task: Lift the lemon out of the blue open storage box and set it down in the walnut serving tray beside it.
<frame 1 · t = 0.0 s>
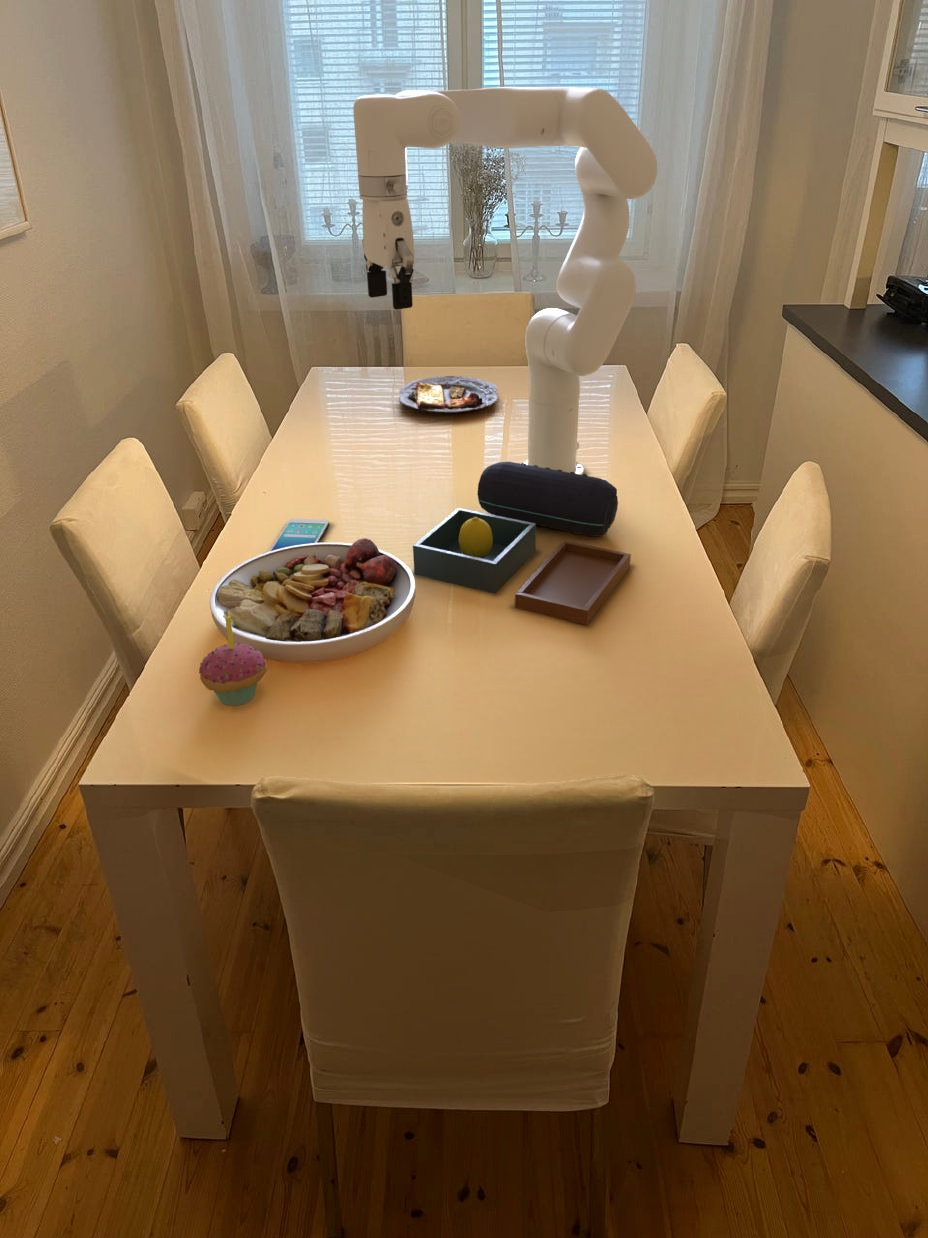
hand: (390, 301, 151), 37 cm above the table, tool pointing down, fingers open, 9 cm apart
tray: (574, 586, 146), on the table
cupcake: (238, 697, 123), on the table
blue open storage box: (476, 563, 153), on the table
lemon: (476, 562, 153), resting on blue open storage box
portable speaker: (547, 524, 165), on the table
smartphone: (299, 543, 161), on the table
bowl: (317, 618, 140), on the table
food plate: (448, 402, 222), on the table
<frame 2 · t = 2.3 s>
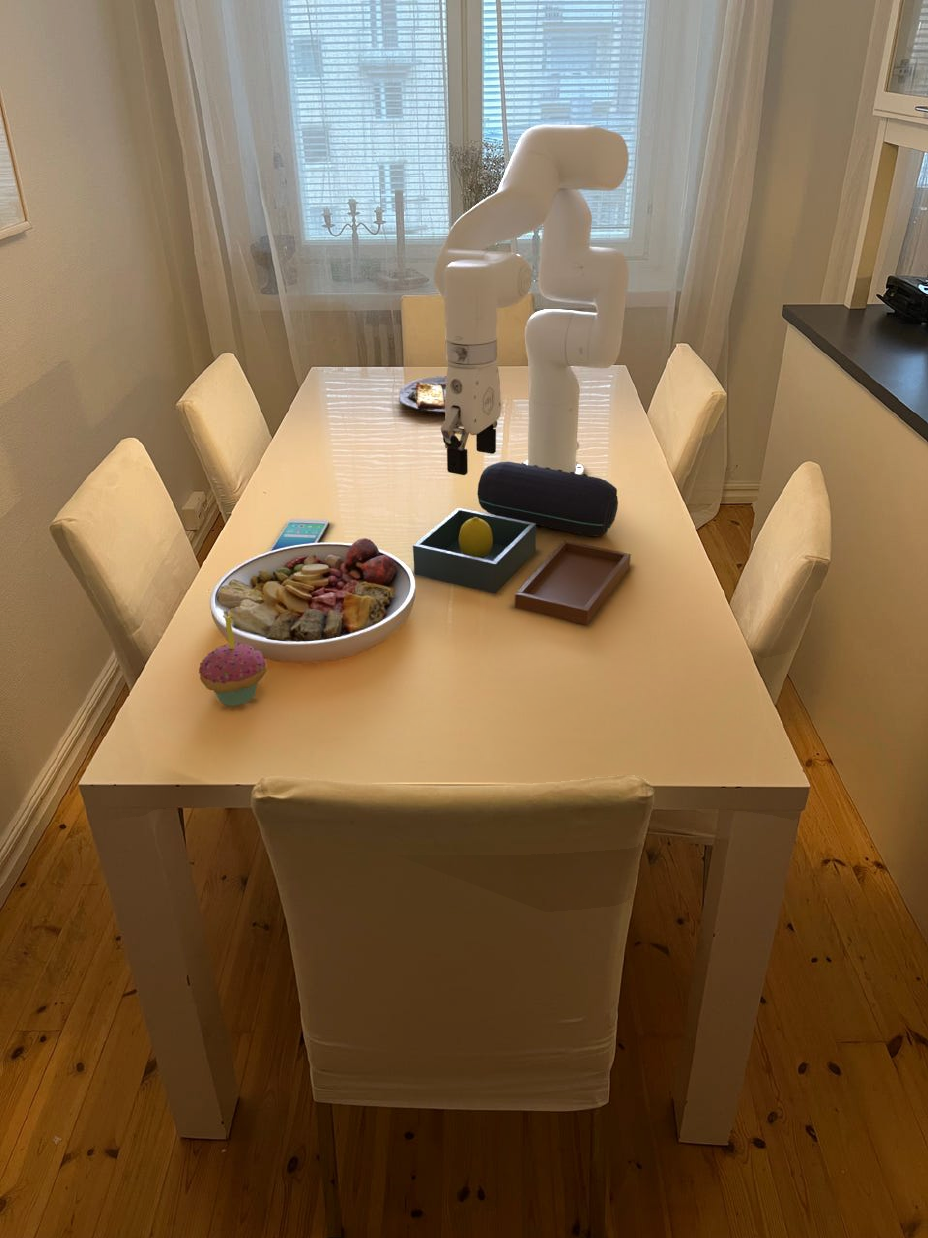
hand: (472, 462, 144), 18 cm above the table, tool pointing down, fingers open, 9 cm apart
nothing on the table moved.
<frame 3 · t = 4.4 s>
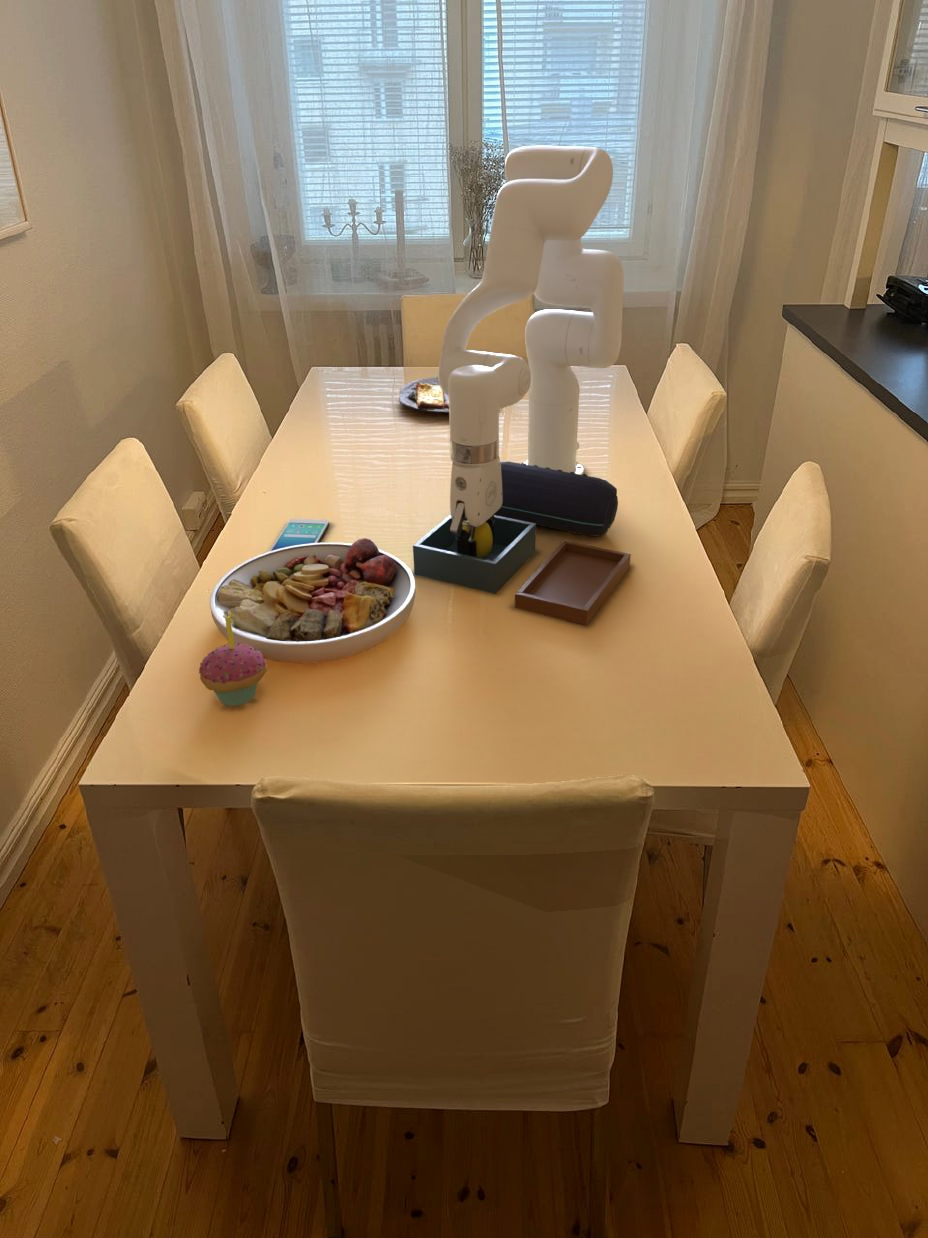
hand: (475, 552, 152), 2 cm above the table, tool pointing down, fingers closed on lemon, 5 cm apart
lemon: (476, 562, 153), resting on blue open storage box, touching gripper
everything else where it was.
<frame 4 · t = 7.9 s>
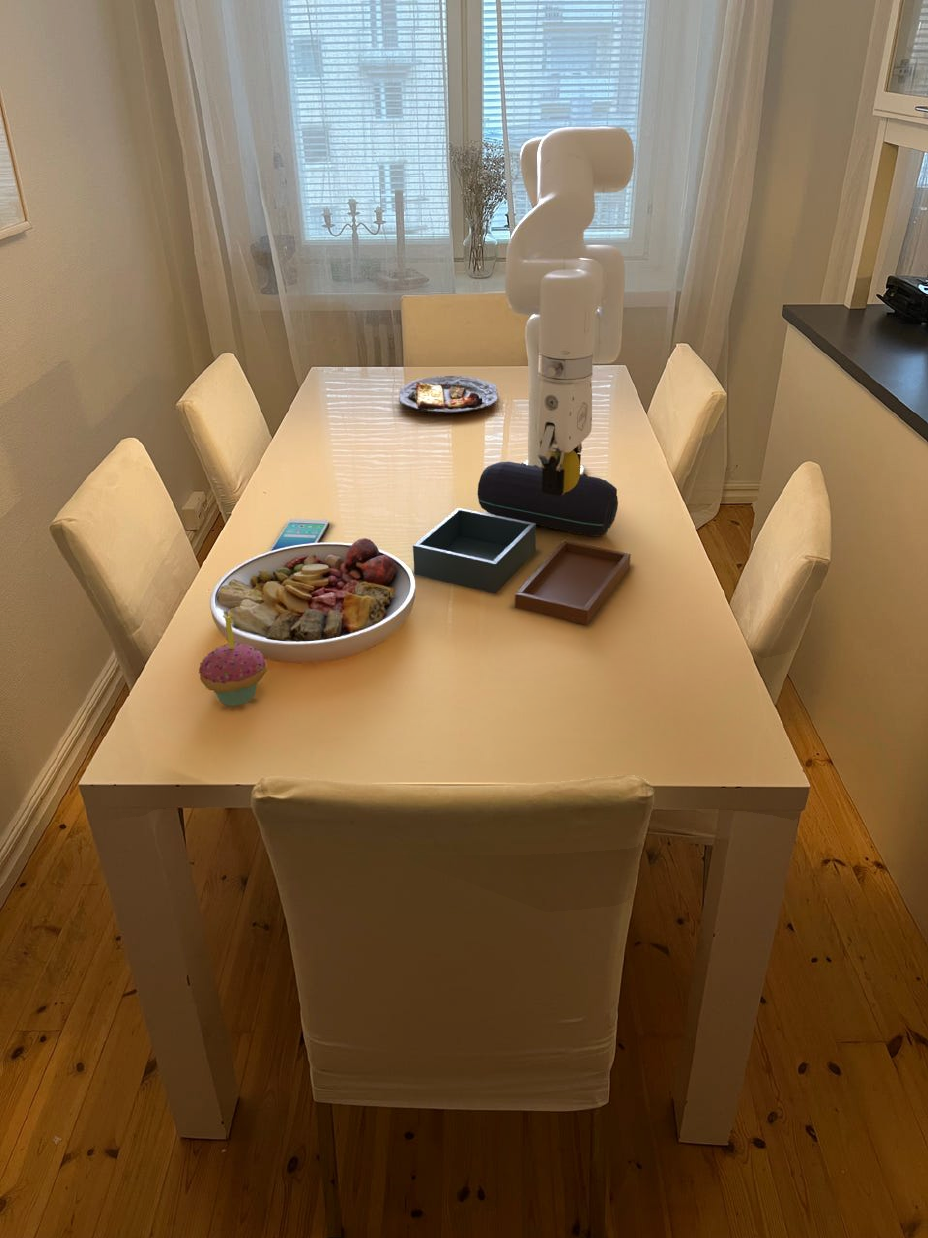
hand: (561, 484, 138), 17 cm above the table, tool pointing down, fingers closed on lemon, 5 cm apart
lemon: (560, 496, 139), point 15 cm above the table, touching gripper
everything else where it was.
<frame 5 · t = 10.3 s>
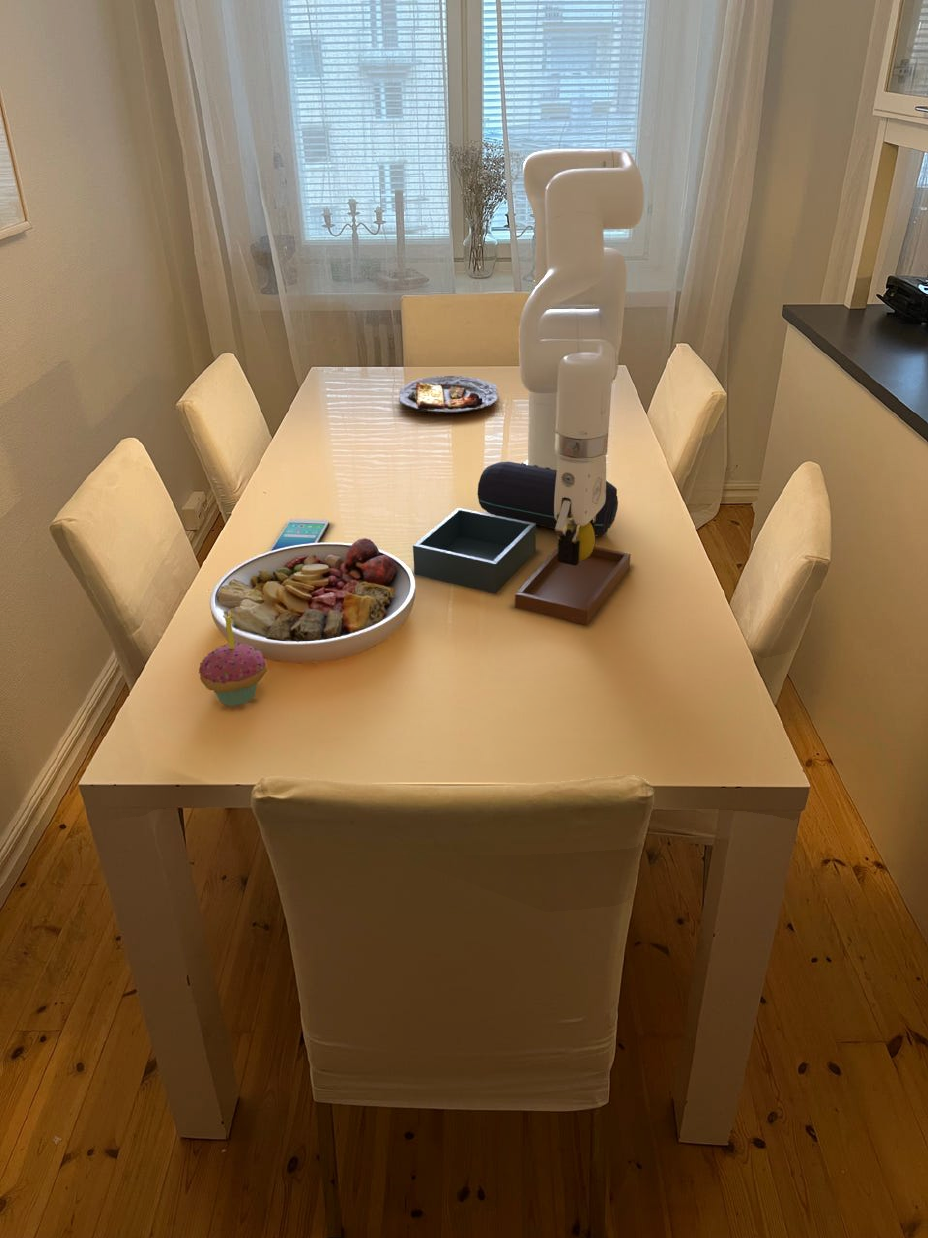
hand: (575, 553, 143), 6 cm above the table, tool pointing down, fingers closed on lemon, 5 cm apart
lemon: (575, 564, 144), point 4 cm above the table, touching gripper
everything else where it was.
when the fingers open (3 cm above the table, at t = 11.6 s): lemon stays where it is, resting on tray.
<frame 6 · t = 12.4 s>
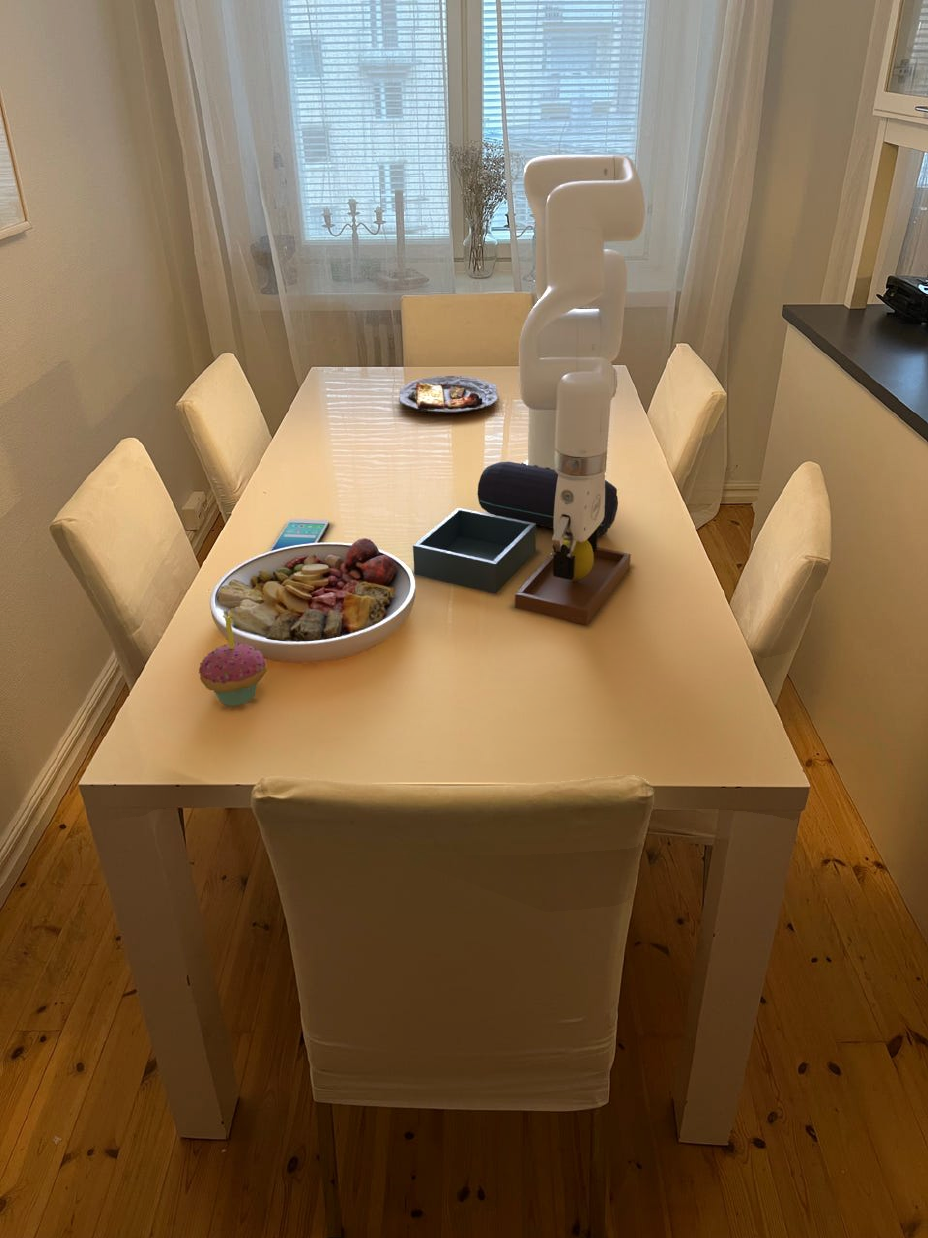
hand: (575, 563, 144), 4 cm above the table, tool pointing down, fingers open, 9 cm apart
lemon: (574, 582, 146), point 1 cm above the table, touching tray
everything else where it was.
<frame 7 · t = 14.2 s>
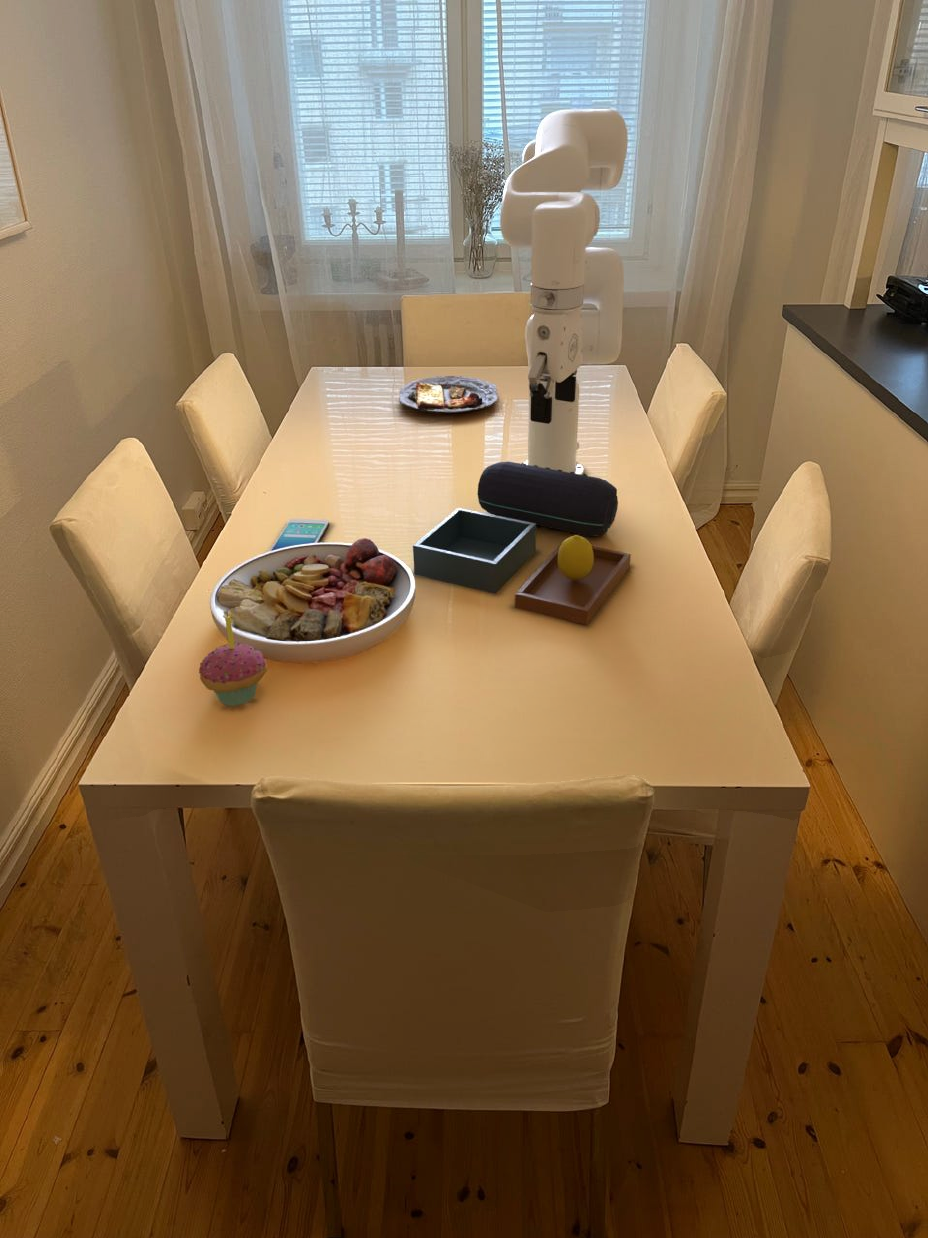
hand: (553, 410, 142), 25 cm above the table, tool pointing down, fingers open, 9 cm apart
nothing on the table moved.
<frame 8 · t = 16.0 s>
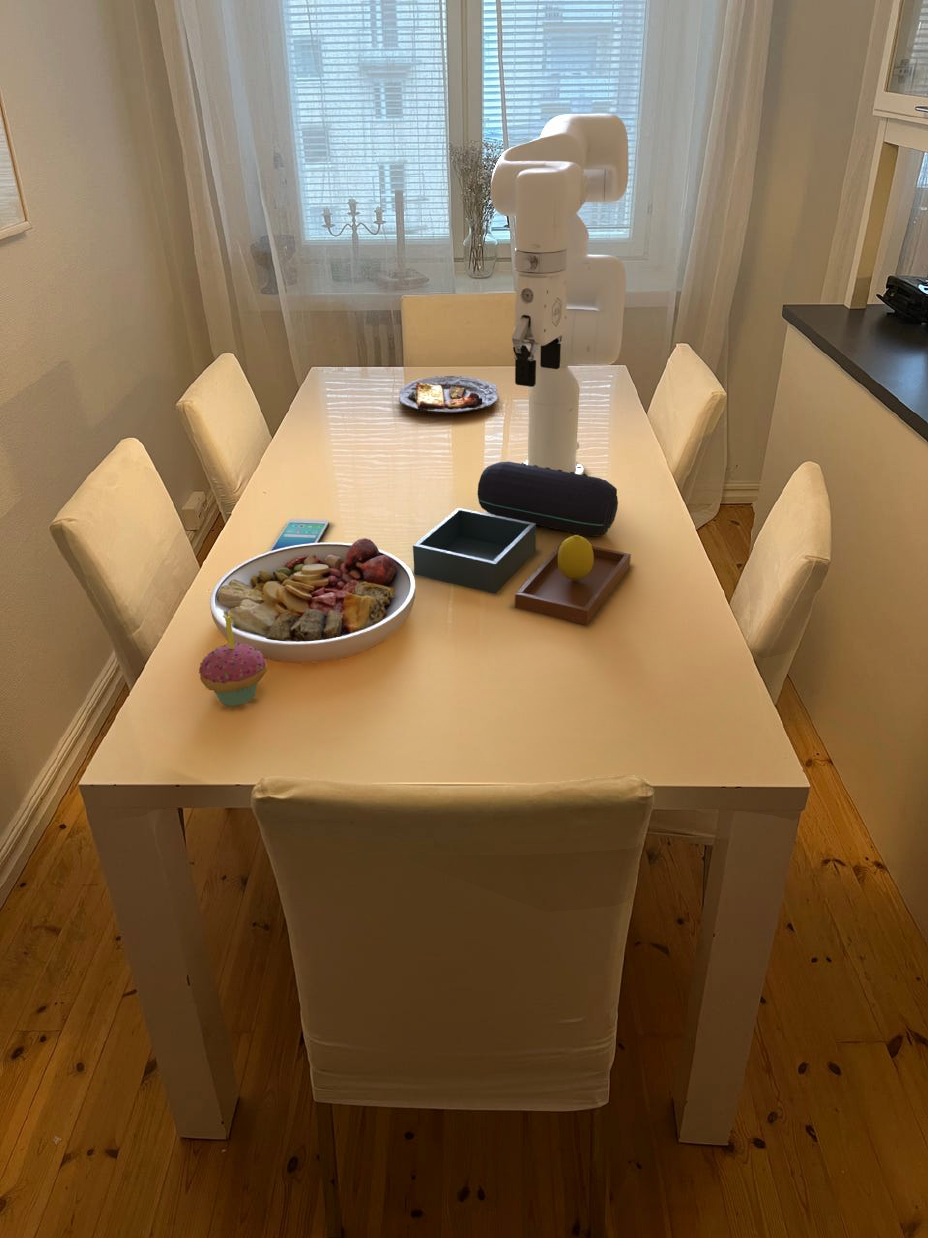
hand: (537, 376, 146), 28 cm above the table, tool pointing down, fingers open, 9 cm apart
nothing on the table moved.
at the end: lemon inside the target area on the tray (0.1 cm from its centre), point 0.8 cm above the tray's base; lemon touching tray; the gripper is holding nothing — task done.
